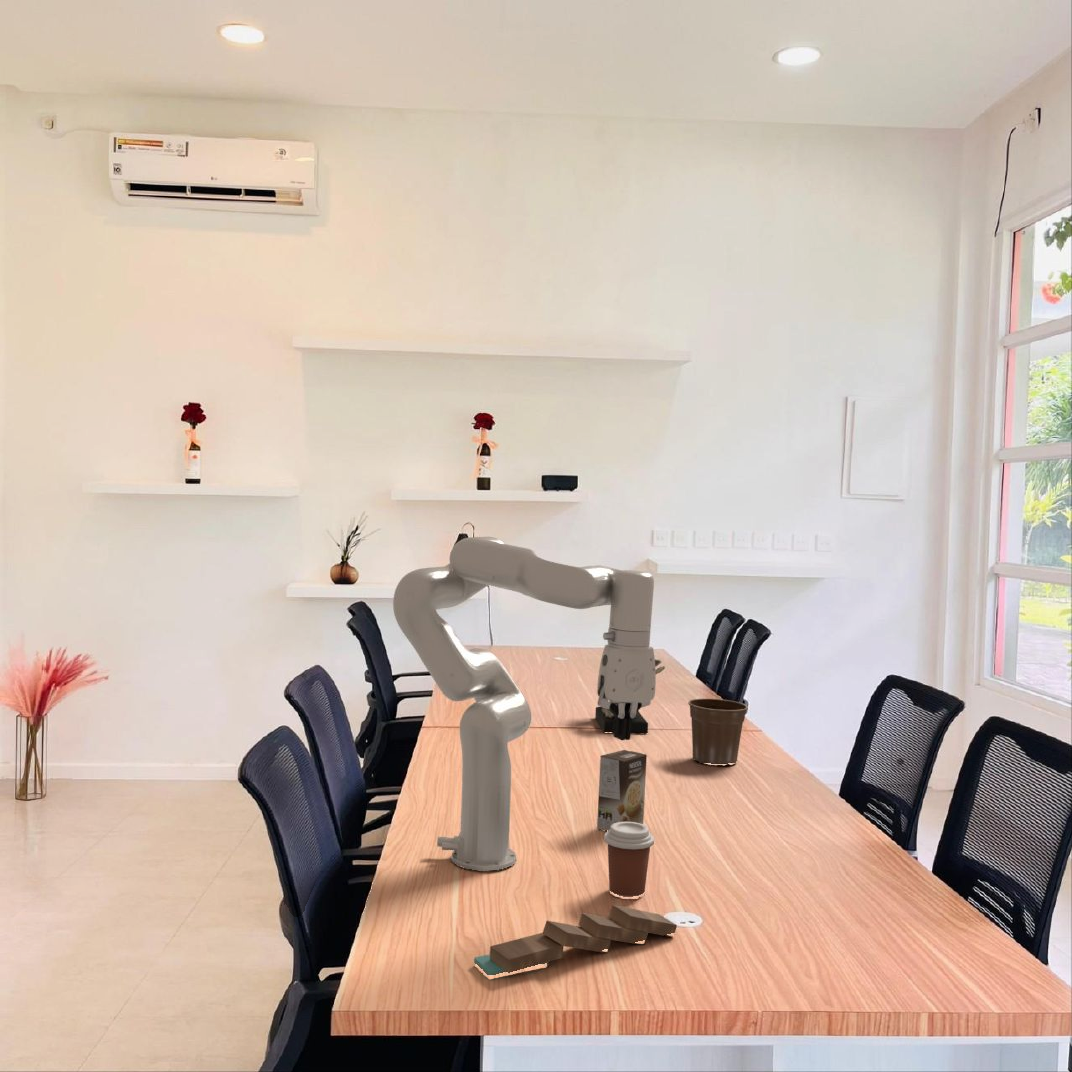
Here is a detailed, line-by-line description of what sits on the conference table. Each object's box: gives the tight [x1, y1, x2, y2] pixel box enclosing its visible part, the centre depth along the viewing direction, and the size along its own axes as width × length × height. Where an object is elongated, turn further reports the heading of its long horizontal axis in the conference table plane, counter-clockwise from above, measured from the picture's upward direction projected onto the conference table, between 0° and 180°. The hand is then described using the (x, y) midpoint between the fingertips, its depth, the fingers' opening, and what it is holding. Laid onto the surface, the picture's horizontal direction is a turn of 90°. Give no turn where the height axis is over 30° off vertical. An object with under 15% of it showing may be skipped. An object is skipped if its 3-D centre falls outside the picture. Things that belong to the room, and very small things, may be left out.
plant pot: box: [687, 698, 749, 764], centre depth 283 cm, size 16×16×16 cm
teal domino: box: [473, 954, 549, 975], centre depth 154 cm, size 2×5×10 cm
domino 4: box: [608, 904, 678, 936], centre depth 167 cm, size 2×5×10 cm
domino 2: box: [542, 920, 612, 953], centre depth 159 cm, size 2×5×10 cm
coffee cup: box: [603, 822, 655, 897], centre depth 185 cm, size 9×9×12 cm
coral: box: [595, 658, 666, 734], centre depth 326 cm, size 25×20×21 cm
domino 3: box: [578, 912, 648, 944], centre depth 164 cm, size 2×5×10 cm
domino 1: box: [489, 932, 564, 973], centre depth 154 cm, size 2×5×10 cm
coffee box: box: [596, 749, 648, 831], centre depth 222 cm, size 9×6×16 cm
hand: (621, 738), depth 187 cm, fingers closed
